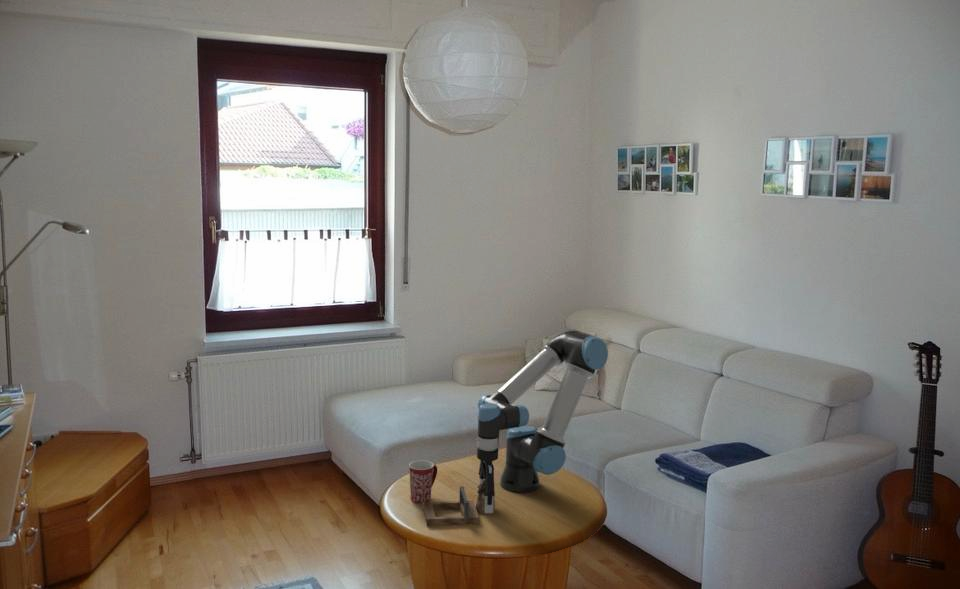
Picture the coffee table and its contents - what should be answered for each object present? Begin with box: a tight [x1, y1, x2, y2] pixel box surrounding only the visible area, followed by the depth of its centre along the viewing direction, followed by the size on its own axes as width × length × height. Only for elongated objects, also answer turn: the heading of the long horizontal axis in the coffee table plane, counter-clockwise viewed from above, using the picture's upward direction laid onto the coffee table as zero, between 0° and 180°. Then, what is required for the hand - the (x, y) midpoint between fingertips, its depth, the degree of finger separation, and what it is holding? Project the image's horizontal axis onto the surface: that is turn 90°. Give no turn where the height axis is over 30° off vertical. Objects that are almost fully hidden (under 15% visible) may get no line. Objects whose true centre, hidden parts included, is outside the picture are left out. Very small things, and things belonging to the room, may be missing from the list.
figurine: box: [475, 479, 496, 515], centre depth 284 cm, size 7×7×12 cm
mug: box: [408, 459, 438, 505], centre depth 292 cm, size 13×9×14 cm
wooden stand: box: [422, 486, 480, 527], centre depth 278 cm, size 18×14×8 cm
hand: (485, 504), depth 285 cm, fingers open, 13 cm apart
